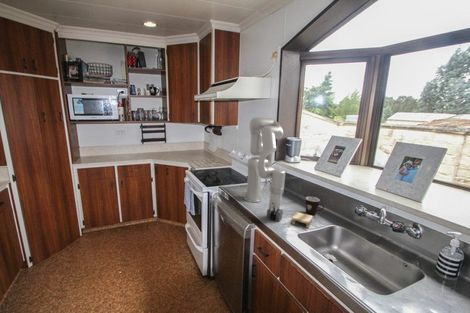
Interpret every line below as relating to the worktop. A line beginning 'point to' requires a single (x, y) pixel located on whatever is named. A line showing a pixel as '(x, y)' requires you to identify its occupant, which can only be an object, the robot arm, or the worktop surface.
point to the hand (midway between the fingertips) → (274, 217)
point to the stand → (302, 219)
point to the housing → (278, 214)
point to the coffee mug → (312, 205)
